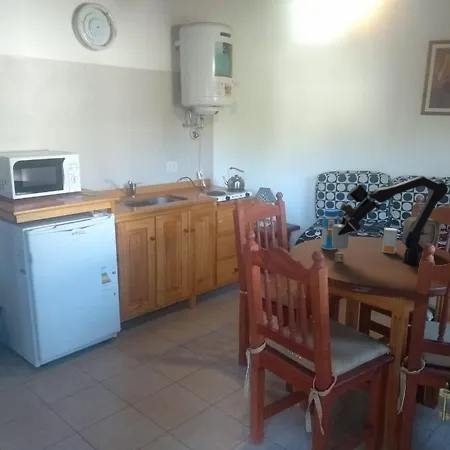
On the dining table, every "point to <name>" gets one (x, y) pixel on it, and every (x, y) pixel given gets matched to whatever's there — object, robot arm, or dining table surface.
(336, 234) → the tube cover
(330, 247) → the beverage bottle
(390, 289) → the dining table surface
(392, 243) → the skincare box
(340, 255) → the taped cardboard box
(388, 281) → the dining table surface
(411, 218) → the tabletop clock
